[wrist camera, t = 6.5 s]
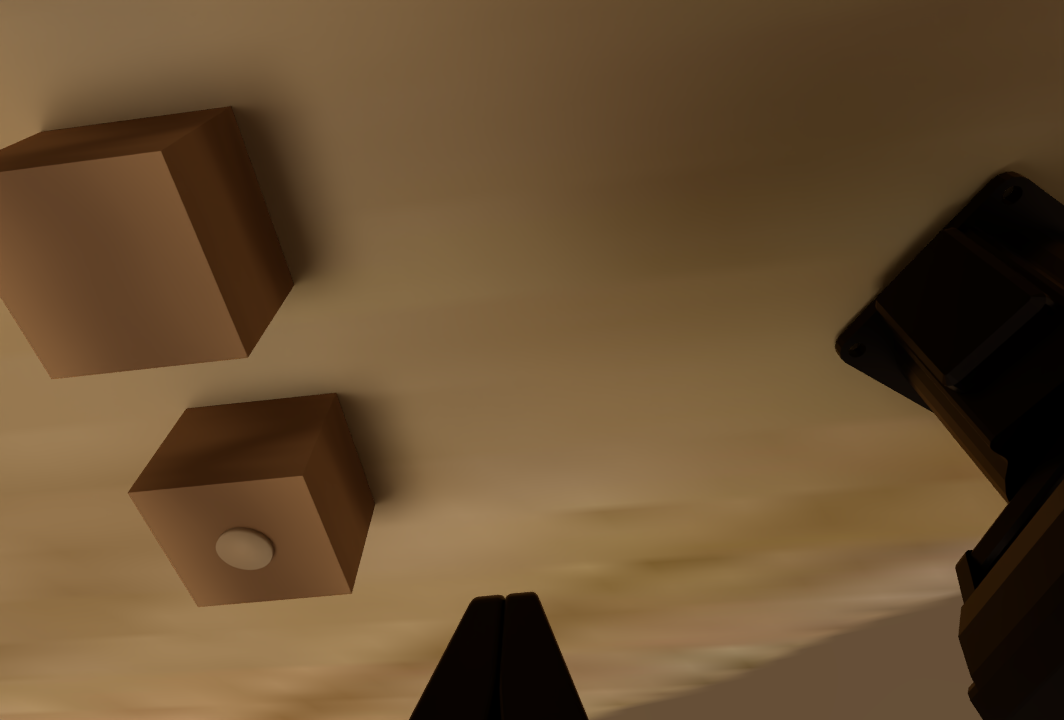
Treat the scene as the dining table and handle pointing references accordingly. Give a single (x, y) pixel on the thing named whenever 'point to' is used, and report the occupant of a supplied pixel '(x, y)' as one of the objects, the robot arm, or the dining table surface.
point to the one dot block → (259, 500)
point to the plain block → (138, 244)
